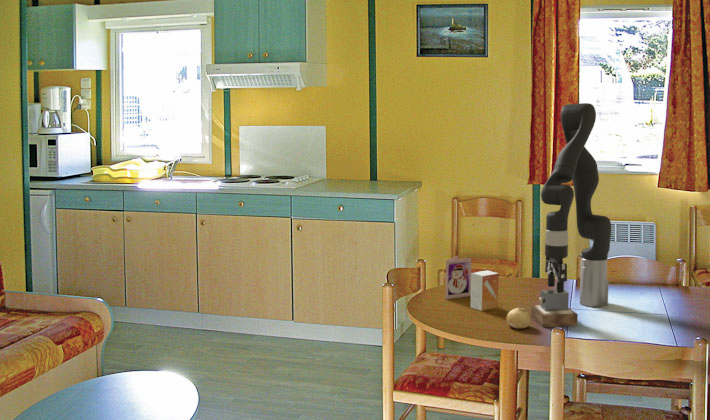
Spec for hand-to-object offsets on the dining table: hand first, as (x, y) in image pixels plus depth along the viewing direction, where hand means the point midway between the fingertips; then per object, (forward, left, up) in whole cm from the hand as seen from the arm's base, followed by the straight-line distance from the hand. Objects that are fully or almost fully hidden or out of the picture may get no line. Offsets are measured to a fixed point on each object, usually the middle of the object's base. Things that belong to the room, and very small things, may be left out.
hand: (555, 289), depth 273 cm
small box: (+19, -20, -12) cm, 30 cm away
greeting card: (+26, -38, -12) cm, 48 cm away
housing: (0, 0, -7) cm, 7 cm away
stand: (0, 0, -11) cm, 11 cm away
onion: (+14, +5, -12) cm, 19 cm away
